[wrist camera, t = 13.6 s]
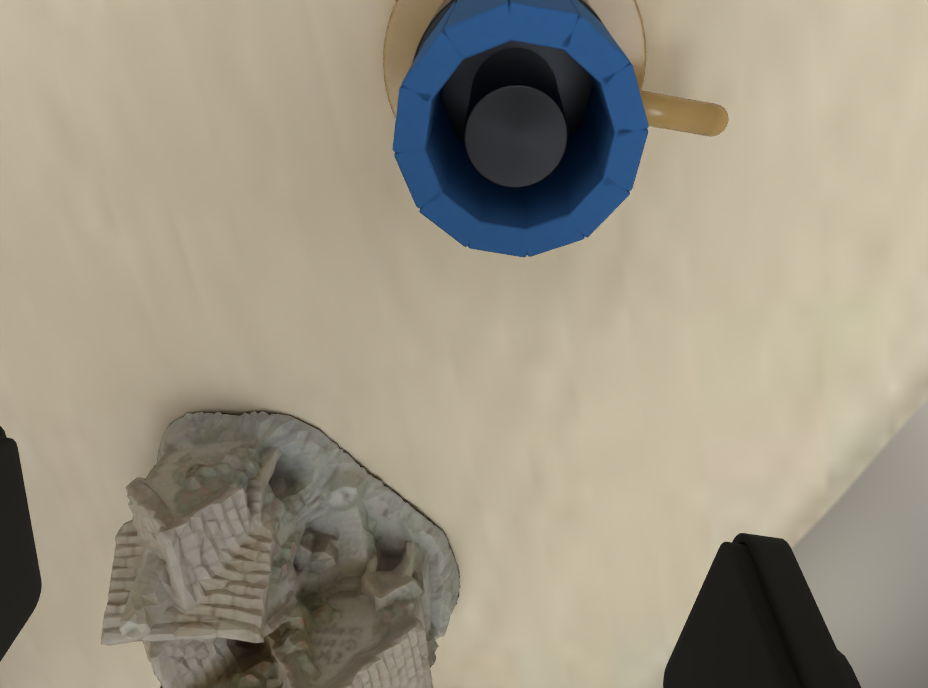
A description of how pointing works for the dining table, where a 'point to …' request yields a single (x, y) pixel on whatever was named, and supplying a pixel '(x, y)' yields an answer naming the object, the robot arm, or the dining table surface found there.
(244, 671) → the ceramic cottage
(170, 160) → the dining table surface
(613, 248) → the dining table surface
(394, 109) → the peg stand
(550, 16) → the sleeve
